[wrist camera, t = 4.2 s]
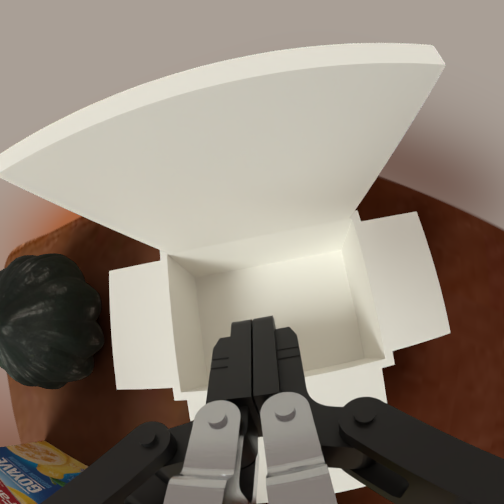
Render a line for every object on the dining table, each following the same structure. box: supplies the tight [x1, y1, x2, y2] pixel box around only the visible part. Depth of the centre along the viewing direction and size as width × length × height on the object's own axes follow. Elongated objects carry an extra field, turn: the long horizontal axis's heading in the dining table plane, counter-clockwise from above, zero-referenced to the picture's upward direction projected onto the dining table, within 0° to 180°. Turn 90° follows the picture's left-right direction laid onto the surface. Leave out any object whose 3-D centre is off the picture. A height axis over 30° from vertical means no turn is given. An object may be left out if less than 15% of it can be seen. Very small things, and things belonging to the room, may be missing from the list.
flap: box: [0, 43, 446, 254], centre depth 15 cm, size 14×1×17 cm, turn 99°
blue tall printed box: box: [0, 440, 88, 504], centre depth 15 cm, size 7×11×22 cm, turn 80°
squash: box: [0, 254, 105, 389], centre depth 26 cm, size 14×15×15 cm
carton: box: [109, 210, 450, 504], centre depth 24 cm, size 26×21×8 cm
